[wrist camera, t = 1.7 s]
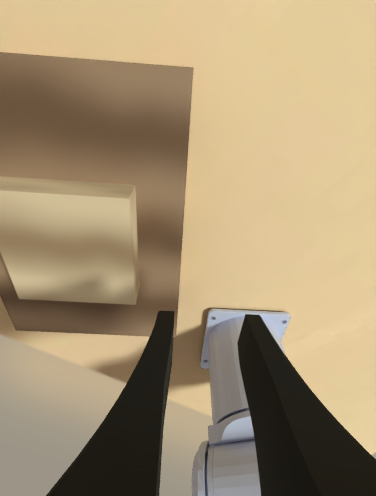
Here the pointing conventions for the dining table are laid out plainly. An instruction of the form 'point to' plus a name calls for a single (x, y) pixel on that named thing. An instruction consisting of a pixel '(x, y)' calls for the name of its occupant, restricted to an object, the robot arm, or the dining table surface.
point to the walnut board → (102, 169)
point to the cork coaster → (70, 240)
